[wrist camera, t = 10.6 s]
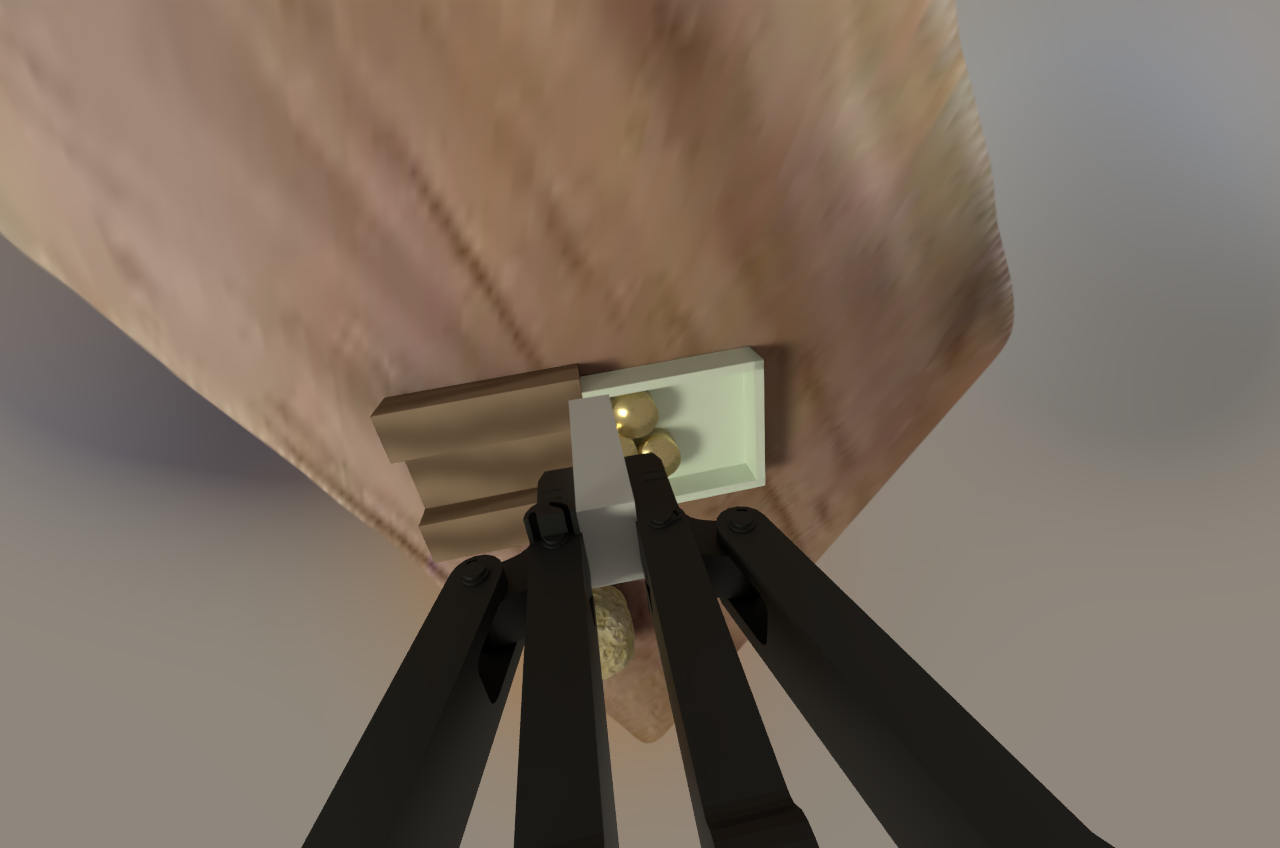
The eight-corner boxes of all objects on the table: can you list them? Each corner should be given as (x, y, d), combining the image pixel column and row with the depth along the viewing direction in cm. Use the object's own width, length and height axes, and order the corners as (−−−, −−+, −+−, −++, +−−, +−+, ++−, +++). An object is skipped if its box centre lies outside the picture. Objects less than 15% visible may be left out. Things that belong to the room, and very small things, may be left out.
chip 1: (599, 405, 43) (601, 418, 41) (632, 375, 42) (637, 386, 40) (629, 433, 45) (633, 446, 43) (662, 404, 44) (668, 417, 42)
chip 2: (582, 433, 43) (585, 447, 41) (625, 418, 44) (630, 431, 41) (597, 469, 45) (601, 484, 43) (638, 454, 46) (643, 468, 43)
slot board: (384, 398, 40) (370, 416, 37) (577, 363, 42) (578, 379, 38) (442, 537, 47) (434, 563, 44) (606, 504, 49) (609, 527, 46)
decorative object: (562, 614, 59) (602, 694, 55) (512, 614, 51) (554, 709, 46) (621, 567, 59) (666, 644, 54) (580, 559, 50) (630, 650, 45)
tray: (579, 376, 42) (581, 392, 39) (748, 346, 43) (763, 359, 40) (604, 495, 48) (607, 517, 45) (752, 465, 49) (765, 485, 46)
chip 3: (646, 421, 44) (650, 434, 42) (682, 437, 46) (689, 450, 44) (624, 455, 46) (628, 470, 44) (661, 470, 47) (666, 485, 45)
